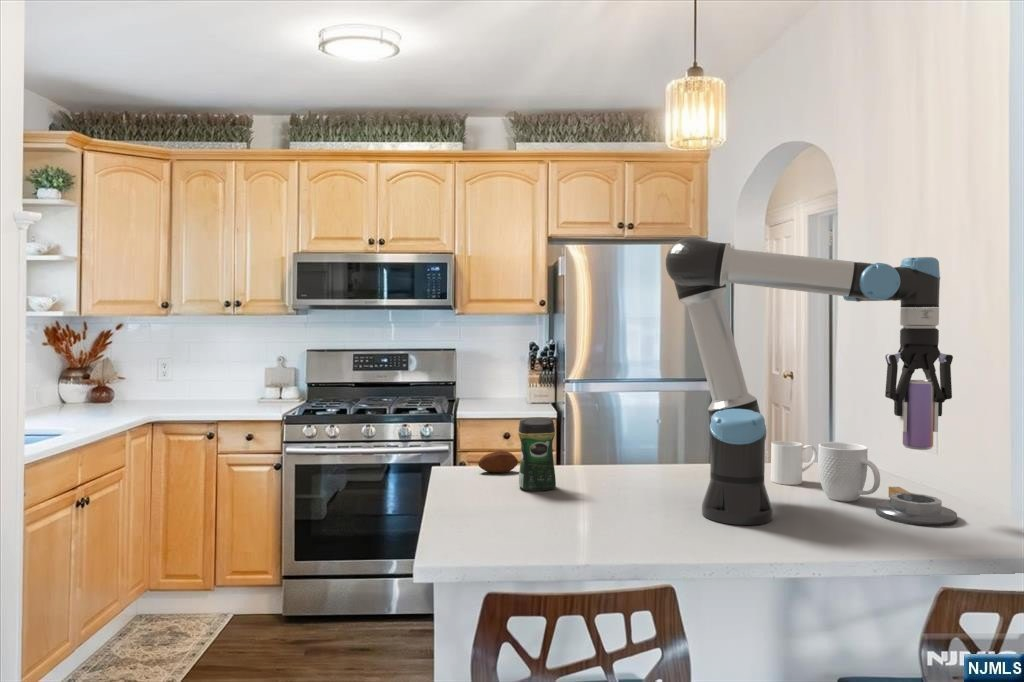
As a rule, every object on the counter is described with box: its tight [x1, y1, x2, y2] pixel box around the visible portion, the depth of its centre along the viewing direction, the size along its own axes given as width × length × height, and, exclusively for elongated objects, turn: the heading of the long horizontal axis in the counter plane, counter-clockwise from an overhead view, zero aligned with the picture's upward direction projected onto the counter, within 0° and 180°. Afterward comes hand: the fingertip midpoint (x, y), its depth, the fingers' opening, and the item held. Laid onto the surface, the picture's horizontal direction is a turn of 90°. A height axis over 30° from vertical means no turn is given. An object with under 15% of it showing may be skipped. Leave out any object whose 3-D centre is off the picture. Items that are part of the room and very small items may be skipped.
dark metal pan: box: [875, 486, 958, 528], centre depth 165 cm, size 16×19×4 cm
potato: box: [477, 449, 519, 474], centre depth 209 cm, size 6×12×6 cm, turn 101°
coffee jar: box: [517, 416, 557, 492], centre depth 190 cm, size 10×8×19 cm
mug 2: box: [817, 441, 881, 502], centre depth 178 cm, size 15×11×13 cm
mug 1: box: [770, 440, 818, 486], centre depth 197 cm, size 12×8×10 cm, turn 96°
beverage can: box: [902, 379, 934, 451], centre depth 163 cm, size 6×6×15 cm
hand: (917, 430), depth 163 cm, fingers closed on beverage can, 6 cm apart
